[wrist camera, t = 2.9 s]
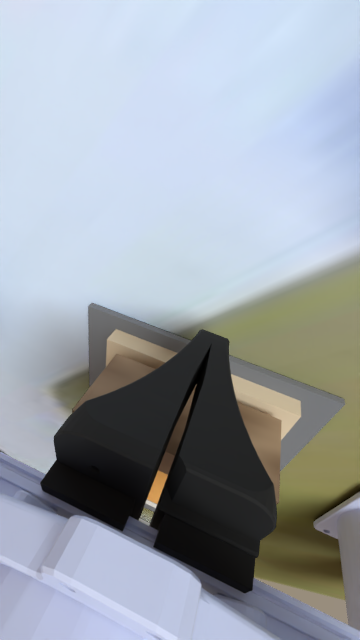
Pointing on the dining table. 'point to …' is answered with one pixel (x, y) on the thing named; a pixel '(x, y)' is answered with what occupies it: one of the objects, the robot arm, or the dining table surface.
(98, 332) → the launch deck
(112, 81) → the dining table surface
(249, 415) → the pusher bar
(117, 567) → the robot arm
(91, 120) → the dining table surface
